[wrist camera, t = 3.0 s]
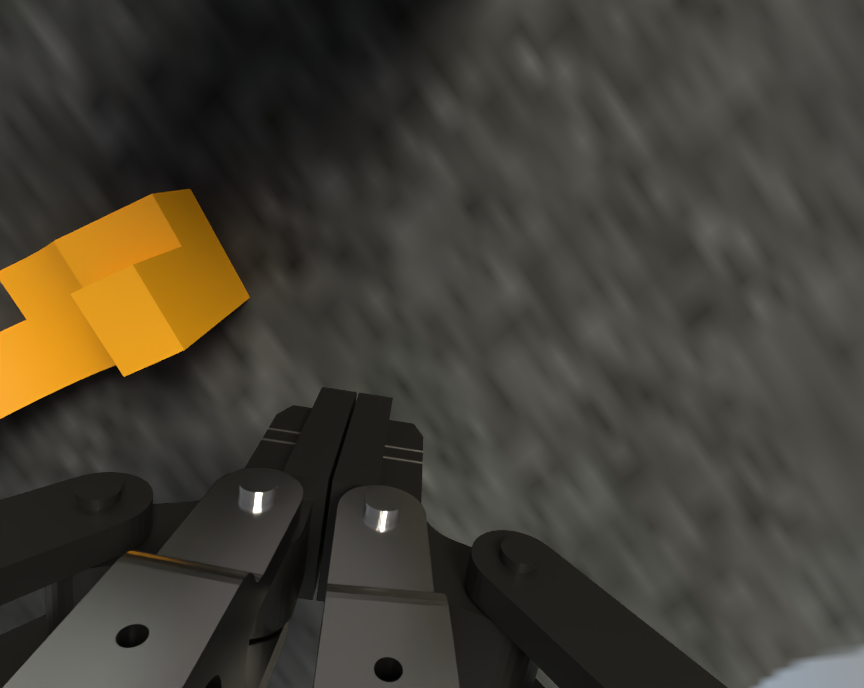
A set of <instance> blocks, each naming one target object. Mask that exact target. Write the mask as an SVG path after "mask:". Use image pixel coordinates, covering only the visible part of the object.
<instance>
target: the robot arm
mask: <svg viewBox="0 0 864 688" xmlns="http://www.w3.org/2000/svg"><path fill="white" fill-rule="evenodd" d="M356 396H357V393H356V392H351V391H345V390H339V389H332V388H326V387H322V389H321V391H320V393H319V395H318V397H317V399H316V401H315V403H314V406H313V408H307V407H301V406H294V405H293V406H291V407H289V408H287V409H286V410H284V411H282V412H280V413H278V414H277V415H276V417H275V418H274V420H273V422H272V423H271V425H270V427H269V430H267V432H266V433H265V435H264V437H263V440H261V442H260V443H259V445H258V447H257V448H256V450H255V452H254V454H253V455H252V457H251V459H250V460H249V462H248V464H247V465H246V467H245V469H241V470H237V471H234V472H231V473H228V474H226V475H224V476H223V477H221V478H220V479H218V480H217V481H216V482H215V483H214V484H213V486H212V487H211V488H210V489H209V491H208V492H207V493H206V494H205V495H204V497H203V498H202V499H201V500H199V501H193V502H182V503H163V504H153V490H152V488H151V486H150V485H149V484H148V483H147V482H146V481H144V480H143V479H141V478H139V477H137V476H134V475H130V474H125V473H116V472H103V473H93V474H88V475H83V476H79V477H76V478H72V479H69V480H66V481H62V482H59V483H55V484H52V485H49V486H45V487H42V488H39V489H35V490H32V491H29V492H25V493H22V494H19V495H15V496H12V497H9V498H5V499H2V500H0V605H3V604H5V603H7V602H10V601H12V600H15V599H17V598H19V597H22V596H24V595H26V594H29V593H31V592H34V591H36V590H38V589H41V588H43V587H45V602H46V615H44V616H42V617H39V618H37V619H35V620H33V621H31V622H28V623H26V624H24V625H22V626H20V627H17V628H15V629H13V630H11V631H9V632H6V633H4V634H2V635H0V688H266V687H267V685H268V682H269V680H270V677H271V675H272V672H273V670H274V667H275V665H276V662H277V660H278V657H279V655H280V652H281V650H282V647H283V645H284V642H285V640H286V636H287V631H288V622H289V619H290V618H291V616H292V614H293V611H294V608H295V605H296V601H297V598H302V599H309V600H313V596H314V592H315V588H316V585H317V581H318V577H319V573H320V578H319V585H318V593H317V600H318V601H325V602H324V609H323V617H322V623H321V630H320V637H319V645H318V652H317V659H316V667H315V674H314V681H313V688H545V687H544V686H543V685H542V684H541V683H540V682H539V681H538V680H537V679H536V674H537V671H538V668H540V669H541V670H542V671H543V672H544V673H545V674H546V675H547V676H548V677H549V678H550V679H551V680H552V681H553V682H554V683H555V684H556V685H557V686H558V687H559V688H727V687H726V686H725V685H724V684H722V683H721V682H720V681H719V680H717V679H716V678H715V677H713V676H712V675H711V674H710V673H708V672H707V671H706V670H705V669H703V668H702V667H701V666H700V665H698V664H697V663H696V662H694V661H693V660H692V659H691V658H689V657H688V656H687V655H686V654H684V653H683V652H682V651H680V650H679V649H678V648H677V647H675V646H674V645H673V644H672V643H670V642H669V641H668V640H667V639H665V638H664V637H663V636H661V635H660V634H659V633H658V632H656V631H655V630H654V629H653V628H651V627H650V626H649V625H647V624H646V623H645V622H644V621H642V620H641V619H640V618H639V617H637V616H636V615H635V614H634V613H632V612H631V611H630V610H628V609H627V608H626V607H625V606H623V605H622V604H621V603H620V602H618V601H617V600H616V599H614V598H613V597H612V596H611V595H609V594H608V593H607V592H606V591H604V590H603V589H602V588H601V587H599V586H598V585H597V584H595V583H594V582H593V581H592V580H590V579H589V578H588V577H587V576H585V575H584V574H583V573H581V572H580V571H579V570H578V569H576V568H575V567H574V566H573V565H571V564H570V563H569V562H568V561H566V560H565V559H564V558H562V557H561V556H560V555H559V554H557V553H556V552H555V551H554V550H552V549H551V548H550V547H548V546H547V545H546V544H544V543H543V542H541V541H539V540H537V539H536V538H533V537H531V536H529V535H526V534H523V533H519V532H515V531H507V530H498V531H491V532H487V533H485V534H483V535H481V536H479V537H478V538H477V539H476V540H475V542H474V543H473V546H472V547H470V546H467V545H464V544H462V543H459V542H456V541H454V540H452V539H449V538H447V537H445V536H444V535H442V534H440V533H439V532H438V531H436V530H435V529H434V528H433V527H431V526H430V524H429V523H428V522H427V521H426V513H425V509H424V508H423V506H422V504H421V492H422V459H423V453H422V452H423V436H422V435H421V433H420V432H419V430H418V429H417V428H416V426H415V425H414V424H412V423H405V422H399V421H392V420H389V417H390V411H391V405H392V399H393V398H390V397H384V396H378V395H371V394H365V393H359V395H358V398H357V401H356Z"/></svg>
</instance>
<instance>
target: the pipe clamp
mask: <svg viewBox="0 0 864 688" xmlns="http://www.w3.org/2000/svg"><path fill="white" fill-rule="evenodd" d="M0 281H1V283H2V284H3V286H4V287H5V288H6V290H7V291H8V293H9V294H10V296H11V297H12V299H13V300H14V302H15V303H16V305H17V306H18V308H19V309H20V311H21V312H22V313H23V315H24V316H25V318H26V319H27V320H25V321H23V322H21V323H18V324H16V325H14V326H12V327H10V328H8V329H5V330H3V331H1V332H0V419H1V418H3V417H5V416H7V415H9V414H11V413H13V412H15V411H17V410H19V409H21V408H23V407H25V406H27V405H29V404H31V403H33V402H35V401H37V400H39V399H41V398H43V397H45V396H47V395H49V394H51V393H53V392H55V391H57V390H60V389H62V388H64V387H66V386H68V385H70V384H72V383H75V382H77V381H79V380H81V379H84V378H86V377H88V376H90V375H93V374H95V373H97V372H100V371H102V370H105V369H107V368H110V367H112V366H115V365H116V366H117V367H118V369H119V370H120V372H121V373H122V375H123V376H124V377H125V376H127V375H130V374H132V373H134V372H136V371H139V370H141V369H143V368H145V367H148V366H150V365H152V364H154V363H157V362H159V361H161V360H164V359H166V358H168V357H170V356H173V355H175V354H177V353H179V352H182V351H184V350H185V349H187V348H188V347H189V346H190V345H192V344H193V343H194V342H195V341H197V340H198V339H199V338H200V337H202V336H203V335H204V334H205V333H206V332H208V331H209V330H210V329H211V328H213V327H214V326H215V325H216V324H218V323H219V322H220V321H221V320H223V319H224V318H225V317H226V316H228V315H229V314H230V313H231V312H233V311H234V310H235V309H236V308H238V307H239V306H240V305H241V304H243V303H244V302H245V301H246V300H248V299H249V298H250V297H249V295H248V293H247V291H246V289H245V287H244V286H243V284H242V282H241V280H240V278H239V276H238V275H237V273H236V271H235V269H234V267H233V266H232V264H231V262H230V260H229V258H228V256H227V255H226V253H225V251H224V249H223V247H222V246H221V244H220V242H219V240H218V238H217V236H216V235H215V233H214V231H213V229H212V227H211V225H210V224H209V222H208V220H207V218H206V216H205V215H204V213H203V211H202V209H201V207H200V205H199V204H198V202H197V200H196V198H195V196H194V194H193V193H192V191H191V189H184V190H176V191H169V192H161V193H154V194H150V195H148V196H146V197H144V198H142V199H140V200H138V201H136V202H134V203H132V204H130V205H128V206H126V207H123V208H121V209H119V210H117V211H115V212H113V213H111V214H109V215H107V216H105V217H103V218H101V219H99V220H96V221H94V222H92V223H90V224H88V225H86V226H84V227H82V228H80V229H78V230H76V231H74V232H71V233H69V234H67V235H65V236H63V237H61V238H59V239H57V240H55V241H53V242H52V243H51V244H49V245H48V246H46V247H44V248H43V249H41V250H40V251H38V252H36V253H34V254H32V255H31V256H29V257H27V258H25V259H23V260H21V261H19V262H17V263H15V264H13V265H11V266H9V267H7V268H5V269H3V270H0Z"/></svg>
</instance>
